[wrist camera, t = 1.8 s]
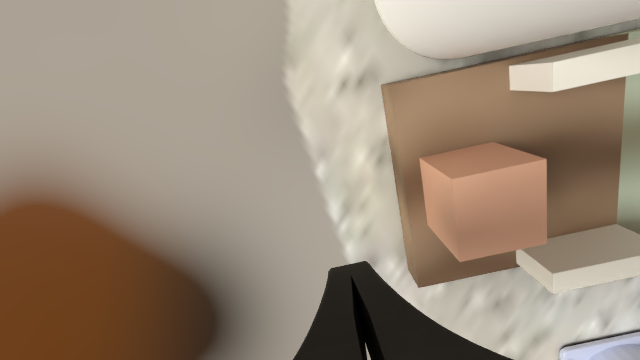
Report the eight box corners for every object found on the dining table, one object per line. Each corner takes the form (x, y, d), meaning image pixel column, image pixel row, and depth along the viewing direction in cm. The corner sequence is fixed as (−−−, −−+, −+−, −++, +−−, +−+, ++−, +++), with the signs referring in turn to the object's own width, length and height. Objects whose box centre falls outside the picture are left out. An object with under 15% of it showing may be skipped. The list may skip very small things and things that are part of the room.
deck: (761, 195, 21) (806, 206, 20) (408, 269, 22) (418, 287, 20) (802, -8, 18) (861, -18, 16) (381, 85, 18) (390, 85, 16)
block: (497, 210, 19) (547, 243, 15) (427, 225, 19) (459, 262, 15) (493, 141, 17) (546, 158, 14) (419, 157, 18) (452, 179, 14)
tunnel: (615, 242, 20) (668, 269, 17) (516, 262, 20) (552, 293, 17) (628, 39, 16) (697, 30, 13) (509, 65, 16) (552, 62, 14)
